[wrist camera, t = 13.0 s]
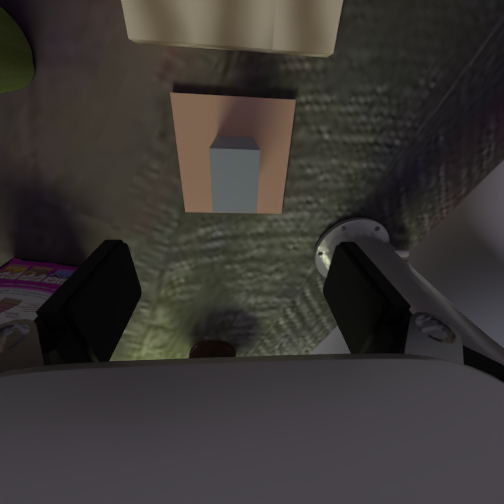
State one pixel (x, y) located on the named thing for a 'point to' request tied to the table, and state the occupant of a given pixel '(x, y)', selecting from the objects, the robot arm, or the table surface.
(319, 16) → the holder
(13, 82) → the plant pot
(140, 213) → the table surface
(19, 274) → the candy bar box
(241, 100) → the tile
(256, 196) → the block
